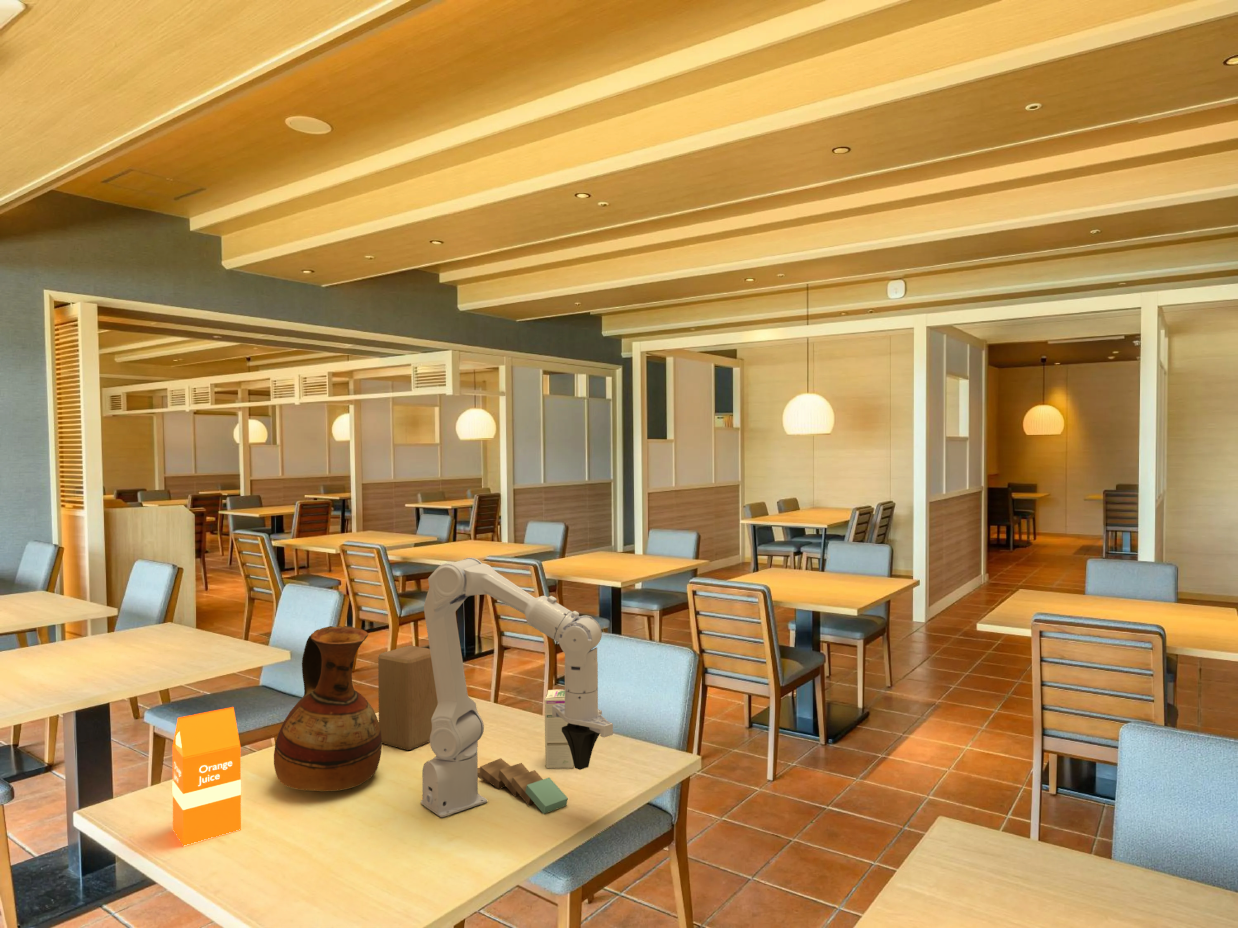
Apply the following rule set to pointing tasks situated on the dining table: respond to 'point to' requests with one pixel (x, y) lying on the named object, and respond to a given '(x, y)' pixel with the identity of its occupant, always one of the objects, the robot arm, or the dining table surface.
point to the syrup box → (556, 734)
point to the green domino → (546, 795)
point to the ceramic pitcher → (329, 720)
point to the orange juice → (206, 776)
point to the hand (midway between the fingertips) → (581, 767)
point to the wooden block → (406, 696)
